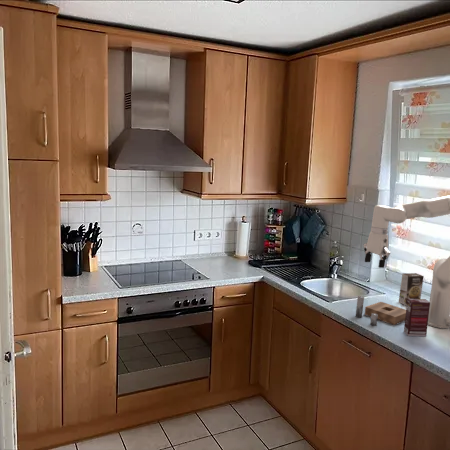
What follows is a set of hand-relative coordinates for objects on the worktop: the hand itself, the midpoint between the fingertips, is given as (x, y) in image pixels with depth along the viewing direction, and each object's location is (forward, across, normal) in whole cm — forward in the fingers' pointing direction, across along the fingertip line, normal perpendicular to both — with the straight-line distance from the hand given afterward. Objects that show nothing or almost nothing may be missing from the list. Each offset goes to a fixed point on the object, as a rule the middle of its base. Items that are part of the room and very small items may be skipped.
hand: (374, 264), depth 230 cm
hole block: (+24, -8, -5) cm, 26 cm away
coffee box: (+24, +4, -32) cm, 40 cm away
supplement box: (+24, -29, -2) cm, 38 cm away
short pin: (+24, -14, +9) cm, 30 cm away
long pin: (+25, -4, +9) cm, 26 cm away
